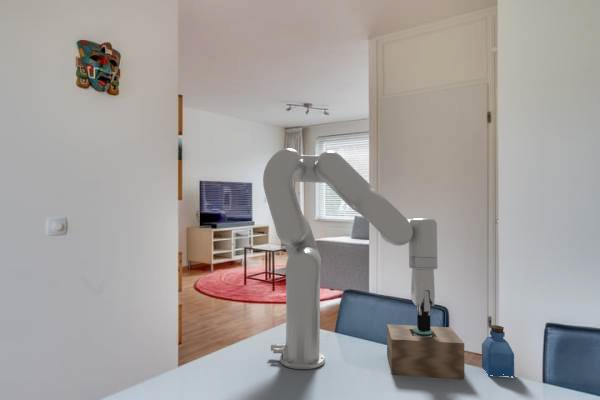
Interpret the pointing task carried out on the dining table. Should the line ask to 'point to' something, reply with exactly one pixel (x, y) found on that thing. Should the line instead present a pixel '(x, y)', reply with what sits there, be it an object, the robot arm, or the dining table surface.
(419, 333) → the plunger
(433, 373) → the housing
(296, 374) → the dining table surface
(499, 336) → the perfume bottle
